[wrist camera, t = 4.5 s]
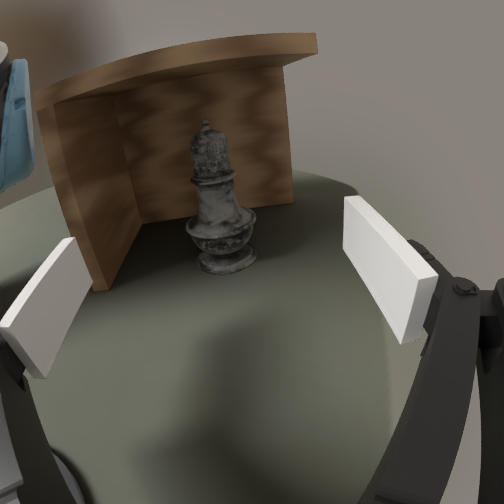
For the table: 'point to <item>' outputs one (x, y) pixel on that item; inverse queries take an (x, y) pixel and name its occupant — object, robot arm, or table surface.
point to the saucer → (70, 481)
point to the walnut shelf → (165, 136)
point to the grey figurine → (218, 207)
